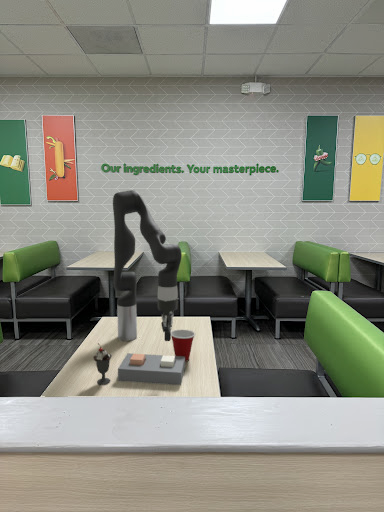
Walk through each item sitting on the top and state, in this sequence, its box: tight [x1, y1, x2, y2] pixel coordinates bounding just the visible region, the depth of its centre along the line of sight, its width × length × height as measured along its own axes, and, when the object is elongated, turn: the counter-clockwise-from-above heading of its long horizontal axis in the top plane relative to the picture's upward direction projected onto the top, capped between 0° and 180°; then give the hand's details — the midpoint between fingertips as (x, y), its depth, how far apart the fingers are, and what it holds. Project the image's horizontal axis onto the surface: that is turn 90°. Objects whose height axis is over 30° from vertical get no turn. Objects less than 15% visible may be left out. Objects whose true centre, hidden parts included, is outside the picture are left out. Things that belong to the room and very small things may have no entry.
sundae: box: [93, 343, 113, 386], centre depth 126 cm, size 7×7×15 cm
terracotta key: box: [130, 353, 145, 365], centre depth 133 cm, size 5×5×4 cm
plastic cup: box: [171, 329, 196, 362], centre depth 145 cm, size 11×11×12 cm
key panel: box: [117, 352, 186, 386], centre depth 133 cm, size 13×24×5 cm, turn 85°
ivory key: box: [161, 354, 175, 367], centre depth 132 cm, size 5×5×4 cm
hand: (167, 340), depth 130 cm, fingers closed
